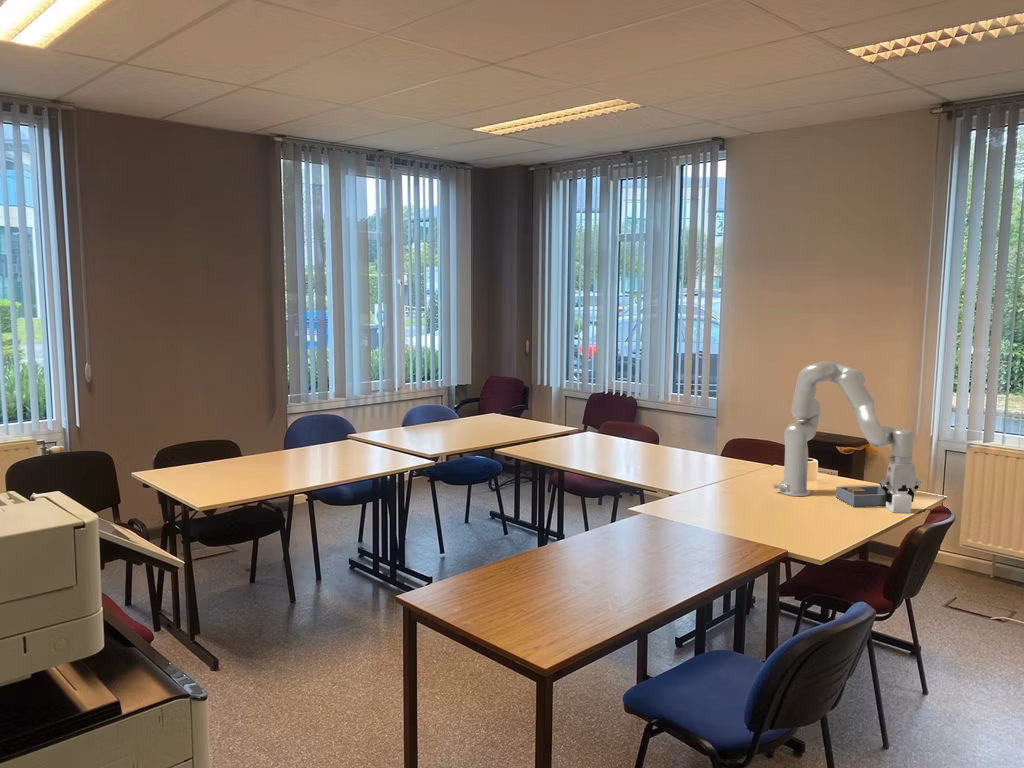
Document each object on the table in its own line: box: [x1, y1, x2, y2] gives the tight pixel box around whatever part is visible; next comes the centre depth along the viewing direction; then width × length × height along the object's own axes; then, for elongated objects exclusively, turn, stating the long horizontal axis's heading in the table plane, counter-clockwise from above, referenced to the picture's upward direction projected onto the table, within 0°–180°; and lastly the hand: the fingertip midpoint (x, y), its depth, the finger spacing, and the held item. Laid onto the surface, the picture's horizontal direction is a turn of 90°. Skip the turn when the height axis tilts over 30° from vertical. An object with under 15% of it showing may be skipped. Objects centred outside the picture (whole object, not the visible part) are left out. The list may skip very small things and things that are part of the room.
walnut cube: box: [848, 486, 866, 495], centre depth 308 cm, size 5×5×5 cm
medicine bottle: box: [885, 485, 913, 514], centre depth 296 cm, size 7×7×12 cm
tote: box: [835, 485, 886, 508], centre depth 309 cm, size 19×14×5 cm
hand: (899, 501), depth 296 cm, fingers open, 9 cm apart
